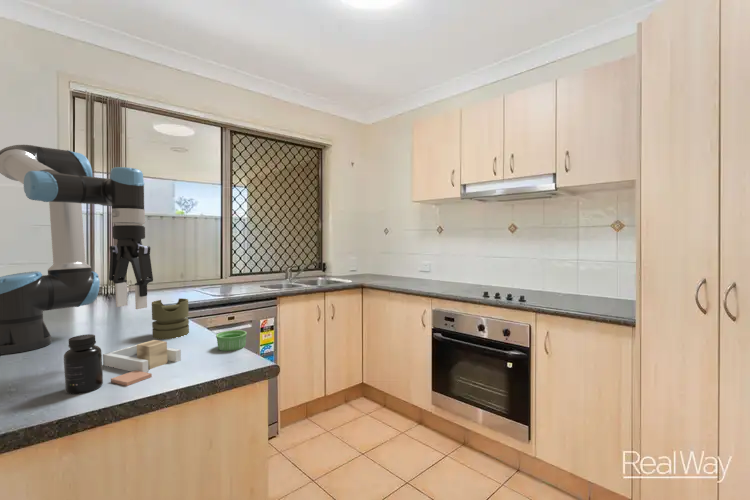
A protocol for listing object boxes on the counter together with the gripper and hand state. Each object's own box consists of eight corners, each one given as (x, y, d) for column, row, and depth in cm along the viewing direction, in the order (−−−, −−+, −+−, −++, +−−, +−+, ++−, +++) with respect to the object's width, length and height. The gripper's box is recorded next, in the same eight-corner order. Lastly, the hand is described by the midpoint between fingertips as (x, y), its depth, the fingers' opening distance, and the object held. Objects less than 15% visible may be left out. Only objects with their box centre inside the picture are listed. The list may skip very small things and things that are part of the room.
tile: (110, 382, 89) (110, 378, 89) (135, 373, 94) (135, 370, 94) (127, 385, 86) (127, 382, 86) (151, 376, 92) (151, 373, 92)
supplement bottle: (79, 383, 88) (77, 333, 88) (109, 382, 89) (108, 332, 88) (57, 395, 81) (54, 341, 81) (90, 394, 82) (88, 340, 81)
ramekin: (245, 342, 122) (245, 328, 122) (248, 349, 114) (248, 335, 114) (215, 345, 118) (215, 332, 118) (217, 353, 110) (216, 339, 110)
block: (137, 366, 99) (136, 344, 99) (155, 361, 104) (154, 339, 103) (150, 369, 97) (149, 346, 97) (167, 363, 102) (166, 341, 101)
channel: (103, 365, 100) (102, 354, 100) (142, 353, 110) (142, 343, 110) (142, 373, 94) (142, 362, 94) (180, 360, 104) (180, 349, 104)
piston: (151, 300, 133) (187, 297, 138) (152, 333, 133) (188, 329, 139) (151, 305, 123) (189, 302, 129) (152, 341, 123) (190, 336, 129)
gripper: (91, 225, 103) (94, 306, 104) (140, 223, 95) (143, 312, 96) (119, 225, 110) (121, 302, 110) (167, 224, 102) (169, 307, 102)
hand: (131, 307), depth 103 cm, fingers open, 8 cm apart
